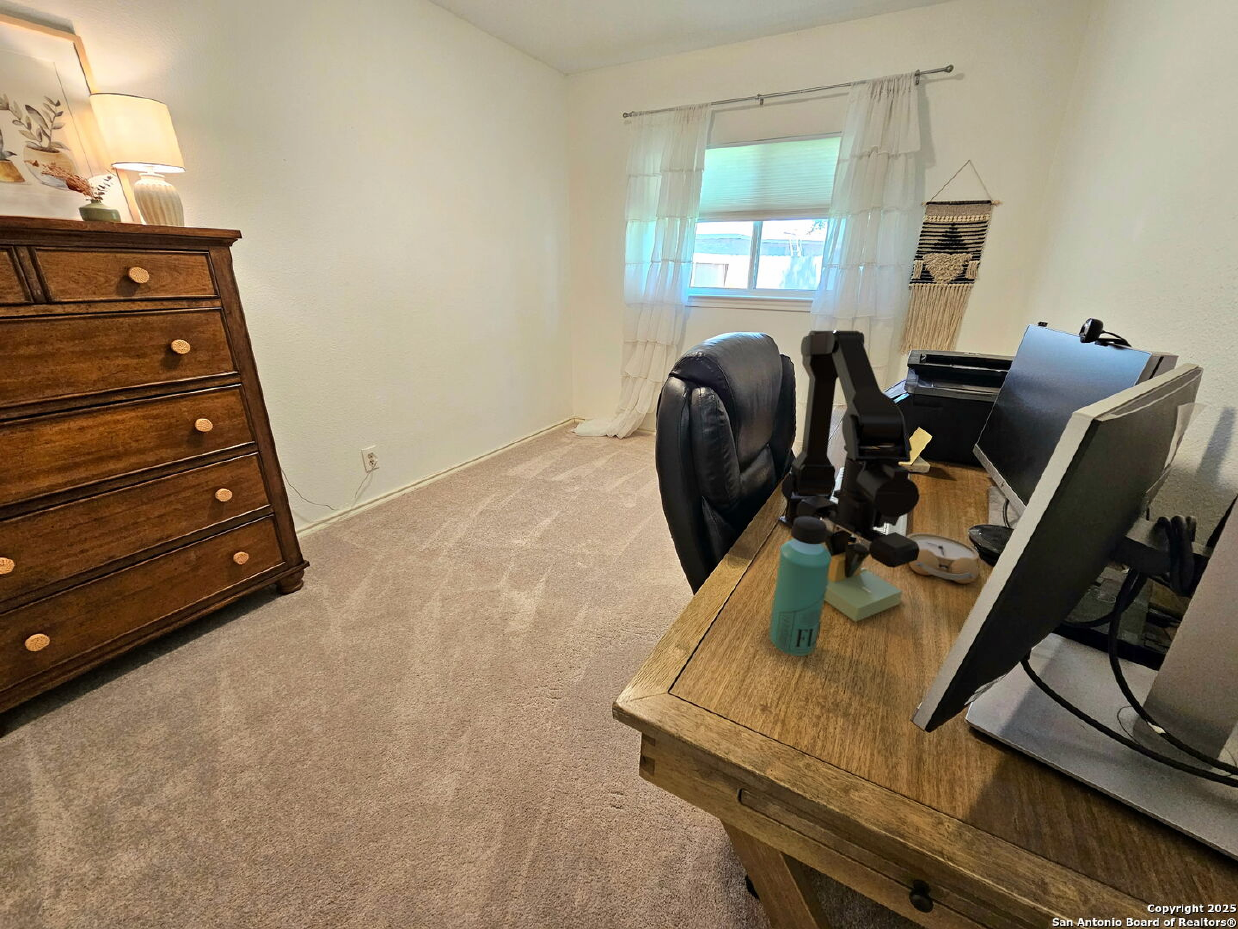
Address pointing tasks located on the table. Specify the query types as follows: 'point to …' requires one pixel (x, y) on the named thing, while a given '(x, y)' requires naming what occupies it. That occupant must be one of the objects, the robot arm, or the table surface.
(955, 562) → the alarm clock
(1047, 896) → the table surface
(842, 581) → the plate
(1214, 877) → the table surface
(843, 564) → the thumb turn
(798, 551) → the beverage bottle
